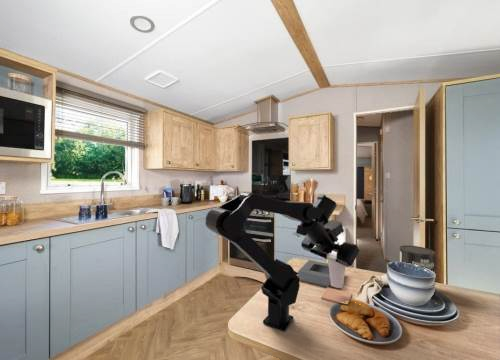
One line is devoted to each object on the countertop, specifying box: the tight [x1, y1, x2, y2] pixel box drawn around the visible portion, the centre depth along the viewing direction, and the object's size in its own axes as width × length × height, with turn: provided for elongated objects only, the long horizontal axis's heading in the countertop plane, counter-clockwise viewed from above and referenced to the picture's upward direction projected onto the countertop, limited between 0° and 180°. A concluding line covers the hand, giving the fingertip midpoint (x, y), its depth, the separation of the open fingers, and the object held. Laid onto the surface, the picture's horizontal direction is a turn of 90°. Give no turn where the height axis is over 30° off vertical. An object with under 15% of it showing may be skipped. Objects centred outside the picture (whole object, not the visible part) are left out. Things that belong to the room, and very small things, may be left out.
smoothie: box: [326, 241, 346, 289], centre depth 76 cm, size 6×6×14 cm
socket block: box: [297, 259, 338, 290], centre depth 90 cm, size 14×14×4 cm
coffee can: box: [399, 245, 437, 274], centre depth 81 cm, size 10×10×14 cm
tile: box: [320, 287, 353, 304], centre depth 76 cm, size 8×8×1 cm
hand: (339, 262), depth 76 cm, fingers closed on smoothie, 6 cm apart
